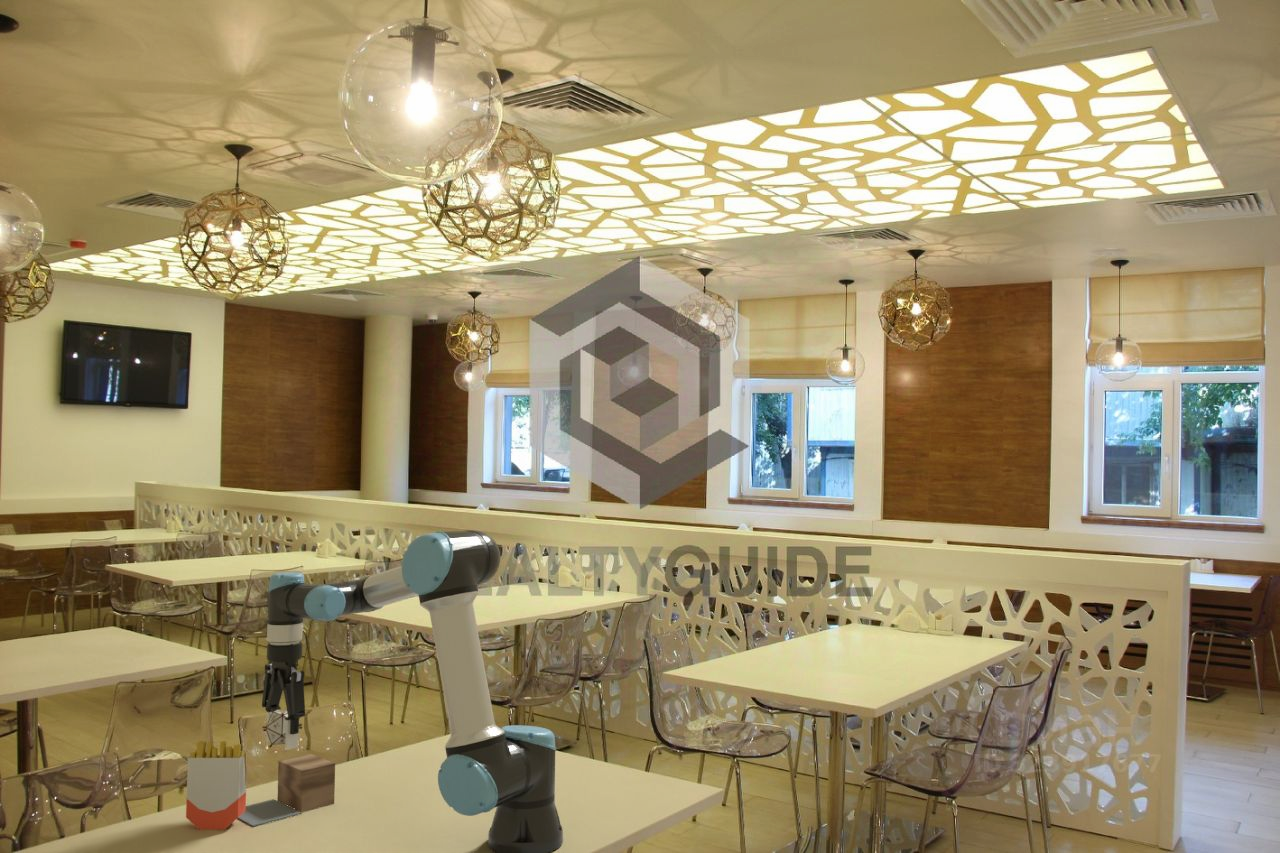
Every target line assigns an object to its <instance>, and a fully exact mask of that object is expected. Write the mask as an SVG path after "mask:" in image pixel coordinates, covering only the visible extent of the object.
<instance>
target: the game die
mask: <svg viewBox="0 0 1280 853" xmlns="http://www.w3.org/2000/svg"><path fill="white" fill-rule="evenodd" d="M277 711H278V710H277ZM271 712H272V715H271V717H270V719H269V721H268V723H267V722H266V725H263V726H262V727H261V729H262V731H263V732H266V735H267V734H268V737H269V740H270V745H269V746H268V748H269V749H270V748H272V746H273V745H276V746H277V745H285V734H286V720H285V718H287V717H288V713H287V710H283V711H282V710H279V711H278V712H274V711H273V709H271ZM303 728H304V727H303V723H299V730H301V729H303Z"/></svg>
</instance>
